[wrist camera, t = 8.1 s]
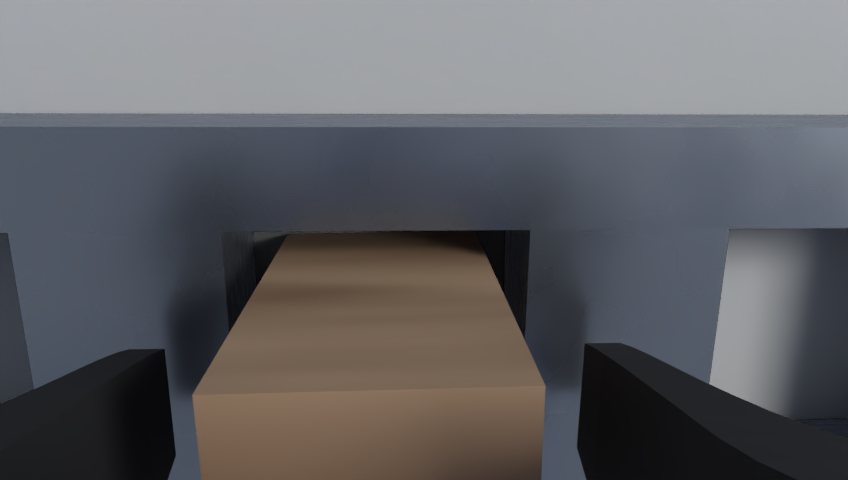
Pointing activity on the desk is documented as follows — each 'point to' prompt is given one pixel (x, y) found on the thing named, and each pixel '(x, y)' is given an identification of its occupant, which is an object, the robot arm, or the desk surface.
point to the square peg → (373, 368)
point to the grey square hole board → (401, 226)
